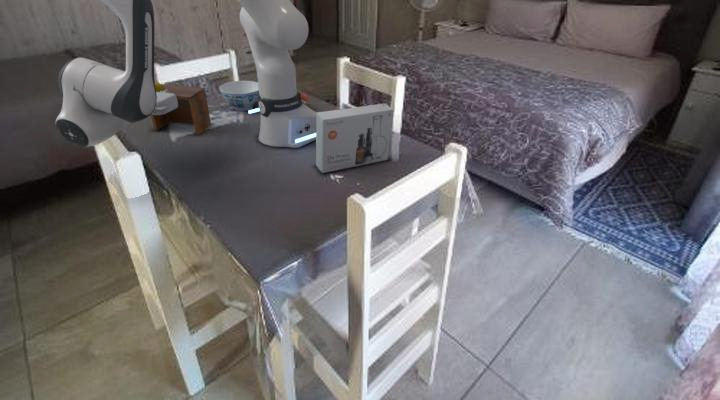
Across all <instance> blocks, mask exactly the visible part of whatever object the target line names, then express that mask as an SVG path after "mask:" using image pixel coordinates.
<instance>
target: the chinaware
mask: <svg viewBox="0 0 720 400" xmlns="http://www.w3.org/2000/svg"><path fill="white" fill-rule="evenodd" d="M218 90H219V92H220V94H221V96H222V98H223V100H224V101H225V102H226V103H227V104H229V105H230V106H232V107H233V109H234V110H236V111H240V112H246V111H249V110H253V108H254V105H256V104H257V102H258V94H259V87H258V81H253V80H235V81H233V80H232V81H227V82H225V83H223V84H220V85H219V87H218Z"/></svg>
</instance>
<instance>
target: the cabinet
mask: <svg viewBox="0 0 720 400" xmlns="http://www.w3.org/2000/svg"><path fill="white" fill-rule="evenodd" d="M161 84H162V85H163V86H164V88H165V90H169V93H173V94H175V95H176V97H177V101H178V107H177V108H176V109H174V110H172V111H170V112H168V113H166V114H163V115H150V119H151V122H152V127H153V129H154V131H156V132H157V131H159V130H161V129H162V128H164V127H165V126H166V125H168V124H169V123H178V124H187V125H193V127H194V132H195V135H196V136H200V134H202V133H203V132H205V130H207V129H208V128H209V127H211V126H212V121H211V116H210V110H209V107H208V106H209V105H208V99H207V94H206V89H205V87H201V86H190V85H178V84H166V83H161Z"/></svg>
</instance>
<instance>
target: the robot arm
mask: <svg viewBox="0 0 720 400" xmlns="http://www.w3.org/2000/svg"><path fill="white" fill-rule="evenodd" d="M99 1H100V2H101V3H102V4H104V5H105V6H106V7H108V8H109V9H110V10H111V11H112V12H113V13H114V14H115V15H116V16H117V17H118V19H119V20H120V21H121V23H122V25H123V27H124V32H125V70H122V69H118V68H116V67H112V66H109V65H107V64H105V63H102V62H98V61H95V60H92V59H90V58H86V57H82V56H78V57H75V58H72V59H70V60H69V61H67V62H66V63H65V64H64V65H63V66H62V68H61V69H60V71H59V73H58V77H57V80H58V81H57V82H58V87H59V90H60V94H61V97H62V105H61V109H60V112H59V114H58V115H57V116H56V118H55V123H54V124H55V129H56V130H57V131H56V132H57V133H58V134H59V135H60V136H61V137H62V138H63V139H64V140H66V141H67V142H68V143H70V144H72V145H74V146H77V147H80V148H91V147H94V146H96V145H99V144H101V143H103V142H105V141H107V140H109V139H112V138H113V137H114V136H115V135H116V134H117V133H118V132H121V131H125V130H126V129H127V128H129V127H131V126H132V125H134V124H136V123H137V122H140V121H143V120H145V119H147V118H148V117H151V115H163V114H166V113H168V112H170V111H172V110H174V109H176V108H177V107H178V101H177V97H176V95H175V94H173V93H169V90H161V91H160V92H156V88H155V82H156V81H155V13H154V12H155V11H154V6H153V5H154V4H153V2H152V0H99ZM236 1H237V3H239V5H240V6H241V8H240V12H239V22H240V26H241V27H242V29H243V30H244V32H245V36H246V38H247V41H248V45H249V48H250V51H251V54H252V58H253V61H254V64H255V70H256V78H257V83H258V87H259V94H258V101H257V102H258V107H257V108H254V109H253V108H252V109H250V110H247V111H248V115H249V114H254V113H257V112H259V113H260V125H259V133H258V141H259V142H260V143H261V144H263V145H266V146H269V147H274V148H275V147H277V148H285V147H286V148H292V149H293V148H294V149H298V148H301V147H303V146H305V145H307V144H309V143H312V142H314V141H316V113H317V112H316V111H315V110H313V109H312V108H310V107H309V106H308V105H307V104H306V105H304V104H303V103H302V101H301V100H303V101H307V102H308V101H309V99H310V97H309V95H308V94H305V93H301V92H299V91H298V90H297V88H298V87H297V70H296V65H295V63H294V61H293V60H292V57H291V56H290V52H289V51H295V50H298V49H300V48H301V47H302V46H303V45H305V43H306V41H307V40H308V36H309V30H310V29H309V23H308V21H307V19H306V17H305V15H304V14H303V13H301V11H300V10H298V8H297V7H295V5H294V4H293V3H292V2H291V0H236Z"/></svg>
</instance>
